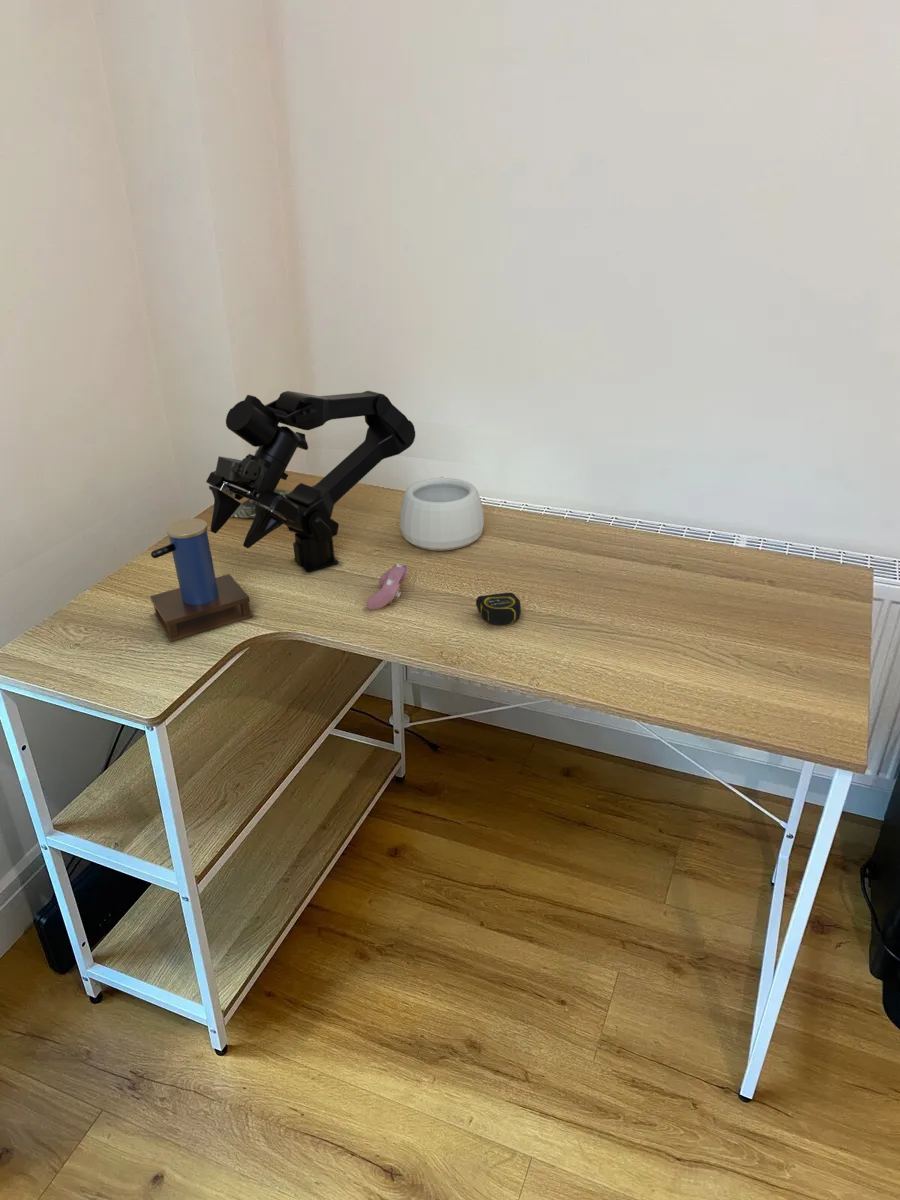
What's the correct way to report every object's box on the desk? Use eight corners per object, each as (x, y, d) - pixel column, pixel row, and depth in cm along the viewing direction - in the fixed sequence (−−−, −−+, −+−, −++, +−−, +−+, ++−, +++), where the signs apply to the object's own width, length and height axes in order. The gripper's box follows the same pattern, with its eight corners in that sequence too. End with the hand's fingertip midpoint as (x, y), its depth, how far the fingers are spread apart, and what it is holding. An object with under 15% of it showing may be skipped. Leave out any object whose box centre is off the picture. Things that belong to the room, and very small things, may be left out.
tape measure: (514, 607, 147) (515, 588, 146) (525, 627, 142) (525, 608, 140) (475, 611, 146) (475, 592, 145) (484, 632, 141) (484, 612, 139)
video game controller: (386, 620, 148) (402, 590, 144) (363, 608, 147) (378, 577, 144) (401, 592, 156) (416, 563, 152) (378, 580, 156) (393, 551, 152)
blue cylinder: (205, 583, 149) (191, 514, 143) (227, 594, 146) (214, 525, 139) (153, 606, 143) (137, 536, 136) (175, 619, 139) (159, 547, 132)
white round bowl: (484, 554, 165) (484, 506, 160) (398, 555, 165) (395, 508, 160) (482, 508, 183) (482, 464, 178) (404, 510, 184) (402, 466, 179)
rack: (232, 593, 154) (229, 573, 152) (252, 617, 147) (249, 597, 145) (154, 616, 148) (149, 596, 146) (171, 642, 140) (166, 621, 138)
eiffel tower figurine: (268, 522, 180) (259, 461, 173) (226, 516, 183) (216, 456, 177) (302, 495, 192) (296, 437, 185) (263, 489, 195) (255, 433, 189)
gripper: (206, 425, 146) (162, 506, 145) (275, 448, 136) (229, 535, 134) (250, 456, 155) (209, 532, 154) (318, 480, 145) (275, 562, 143)
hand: (228, 539), depth 146 cm, fingers open, 9 cm apart
